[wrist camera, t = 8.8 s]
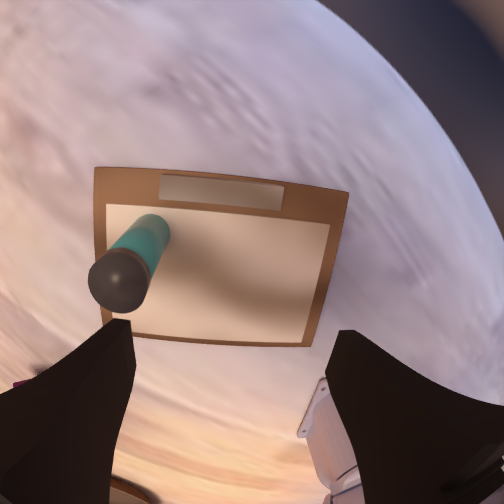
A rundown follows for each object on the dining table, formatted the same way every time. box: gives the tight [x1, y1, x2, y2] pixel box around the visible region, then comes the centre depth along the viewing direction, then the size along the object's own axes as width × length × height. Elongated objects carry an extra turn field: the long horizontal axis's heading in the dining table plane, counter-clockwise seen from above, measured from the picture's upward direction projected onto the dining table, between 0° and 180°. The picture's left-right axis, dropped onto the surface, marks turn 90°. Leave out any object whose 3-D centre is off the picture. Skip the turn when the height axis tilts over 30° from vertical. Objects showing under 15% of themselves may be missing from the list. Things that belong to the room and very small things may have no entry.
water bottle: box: [88, 214, 170, 314], centre depth 14 cm, size 2×2×7 cm
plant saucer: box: [109, 477, 152, 504], centre depth 30 cm, size 21×21×3 cm
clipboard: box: [93, 167, 349, 347], centre depth 18 cm, size 12×16×1 cm
